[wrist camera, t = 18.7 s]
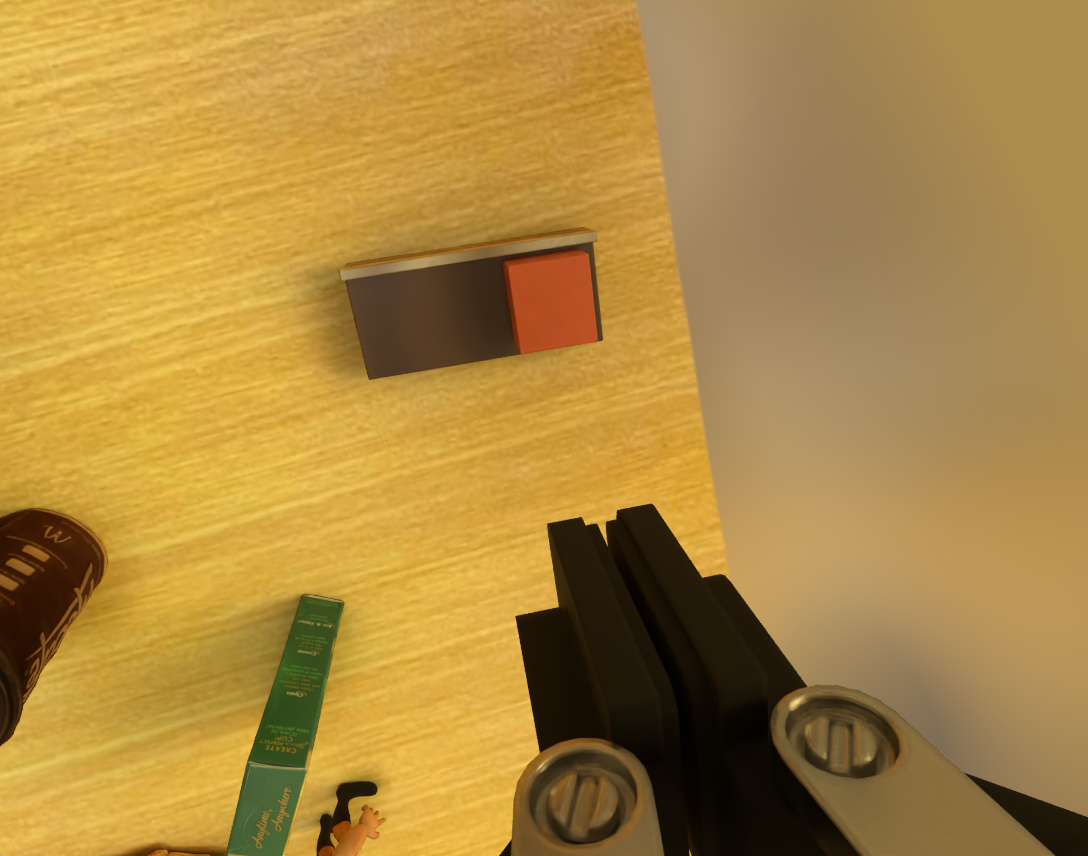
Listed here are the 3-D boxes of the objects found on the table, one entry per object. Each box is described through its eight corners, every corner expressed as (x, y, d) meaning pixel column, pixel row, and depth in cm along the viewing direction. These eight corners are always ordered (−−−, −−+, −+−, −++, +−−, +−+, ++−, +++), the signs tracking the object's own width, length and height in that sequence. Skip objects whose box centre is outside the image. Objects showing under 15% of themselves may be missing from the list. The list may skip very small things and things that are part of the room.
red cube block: (514, 341, 37) (520, 354, 34) (501, 259, 35) (507, 266, 32) (586, 329, 37) (598, 341, 34) (576, 247, 35) (588, 253, 33)
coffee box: (319, 700, 45) (275, 892, 33) (275, 693, 44) (213, 887, 32) (347, 600, 43) (312, 766, 31) (301, 591, 42) (246, 758, 30)
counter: (372, 370, 38) (366, 386, 35) (346, 263, 36) (338, 270, 33) (595, 333, 39) (608, 345, 36) (584, 227, 37) (596, 231, 34)
